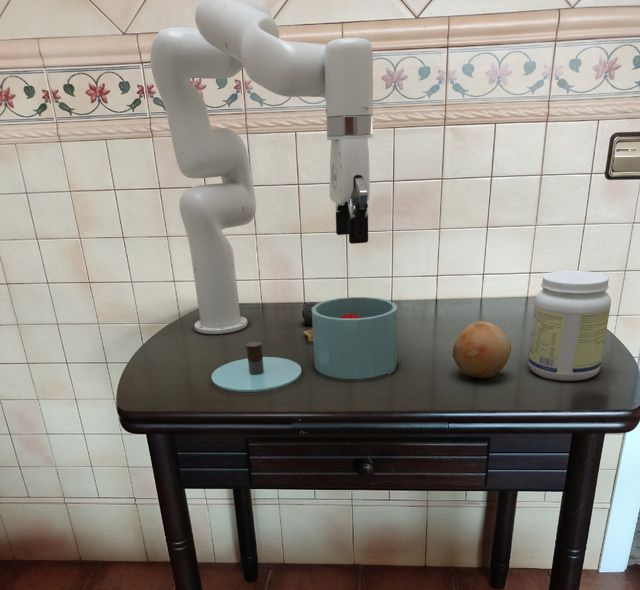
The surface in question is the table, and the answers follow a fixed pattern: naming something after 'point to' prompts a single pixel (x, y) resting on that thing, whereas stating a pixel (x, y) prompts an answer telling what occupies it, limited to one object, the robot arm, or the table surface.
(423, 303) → the table surface
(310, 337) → the shard
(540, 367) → the supplement tub
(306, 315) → the flashlight
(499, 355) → the onion
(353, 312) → the pot
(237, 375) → the lid
